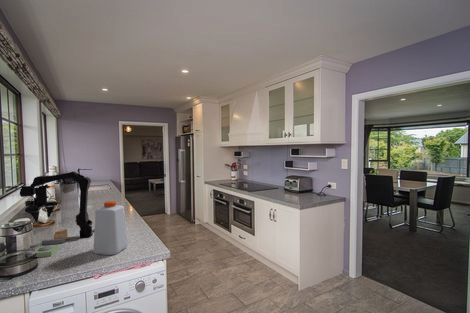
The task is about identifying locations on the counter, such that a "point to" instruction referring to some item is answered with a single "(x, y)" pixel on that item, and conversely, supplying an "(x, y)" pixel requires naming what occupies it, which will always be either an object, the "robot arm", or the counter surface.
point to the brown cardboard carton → (61, 234)
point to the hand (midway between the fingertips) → (42, 219)
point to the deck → (48, 247)
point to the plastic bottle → (110, 229)
